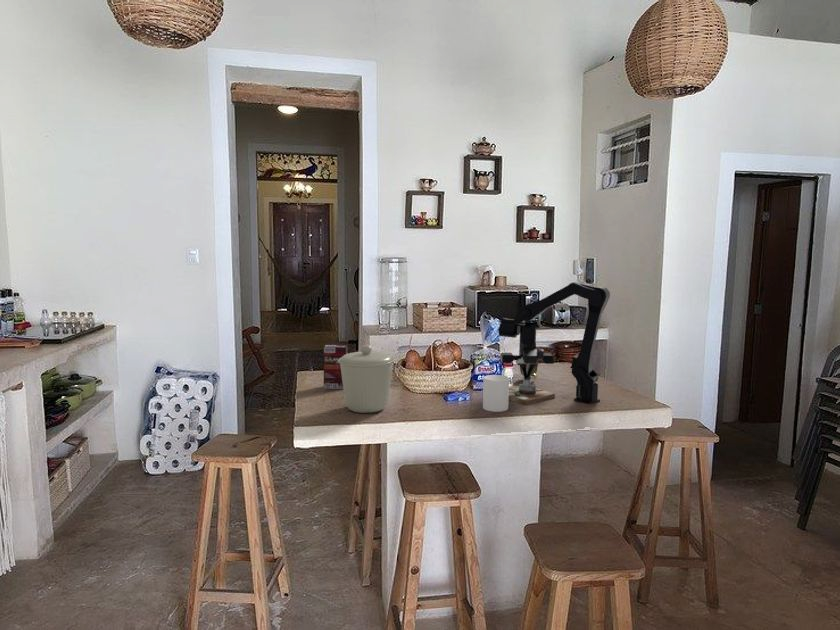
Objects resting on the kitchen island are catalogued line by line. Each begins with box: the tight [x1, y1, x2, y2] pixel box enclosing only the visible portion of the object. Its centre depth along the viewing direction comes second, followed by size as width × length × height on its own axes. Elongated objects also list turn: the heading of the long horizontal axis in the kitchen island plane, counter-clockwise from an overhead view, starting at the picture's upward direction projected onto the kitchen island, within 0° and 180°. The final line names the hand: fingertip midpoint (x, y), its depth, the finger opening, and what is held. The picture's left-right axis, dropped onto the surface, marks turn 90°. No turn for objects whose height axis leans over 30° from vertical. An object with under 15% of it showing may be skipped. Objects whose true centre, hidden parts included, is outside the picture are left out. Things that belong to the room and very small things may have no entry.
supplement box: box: [322, 344, 348, 390], centre depth 205 cm, size 9×5×16 cm, turn 92°
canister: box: [338, 344, 395, 414], centre depth 178 cm, size 18×18×21 cm
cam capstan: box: [518, 373, 538, 394], centre depth 196 cm, size 11×6×5 cm, turn 151°
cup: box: [519, 361, 539, 377], centre depth 218 cm, size 8×7×8 cm
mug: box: [482, 374, 510, 413], centre depth 182 cm, size 8×10×12 cm
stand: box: [508, 385, 556, 406], centre depth 195 cm, size 15×15×3 cm
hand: (526, 381), depth 200 cm, fingers closed
